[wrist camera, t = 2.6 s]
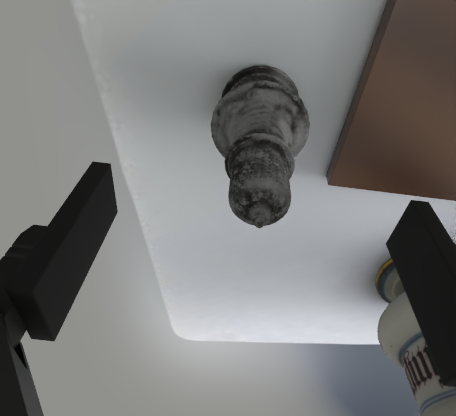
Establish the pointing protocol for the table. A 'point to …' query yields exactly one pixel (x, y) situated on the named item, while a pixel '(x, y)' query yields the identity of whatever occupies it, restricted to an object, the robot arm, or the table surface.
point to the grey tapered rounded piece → (260, 141)
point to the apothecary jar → (410, 347)
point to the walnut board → (404, 106)
